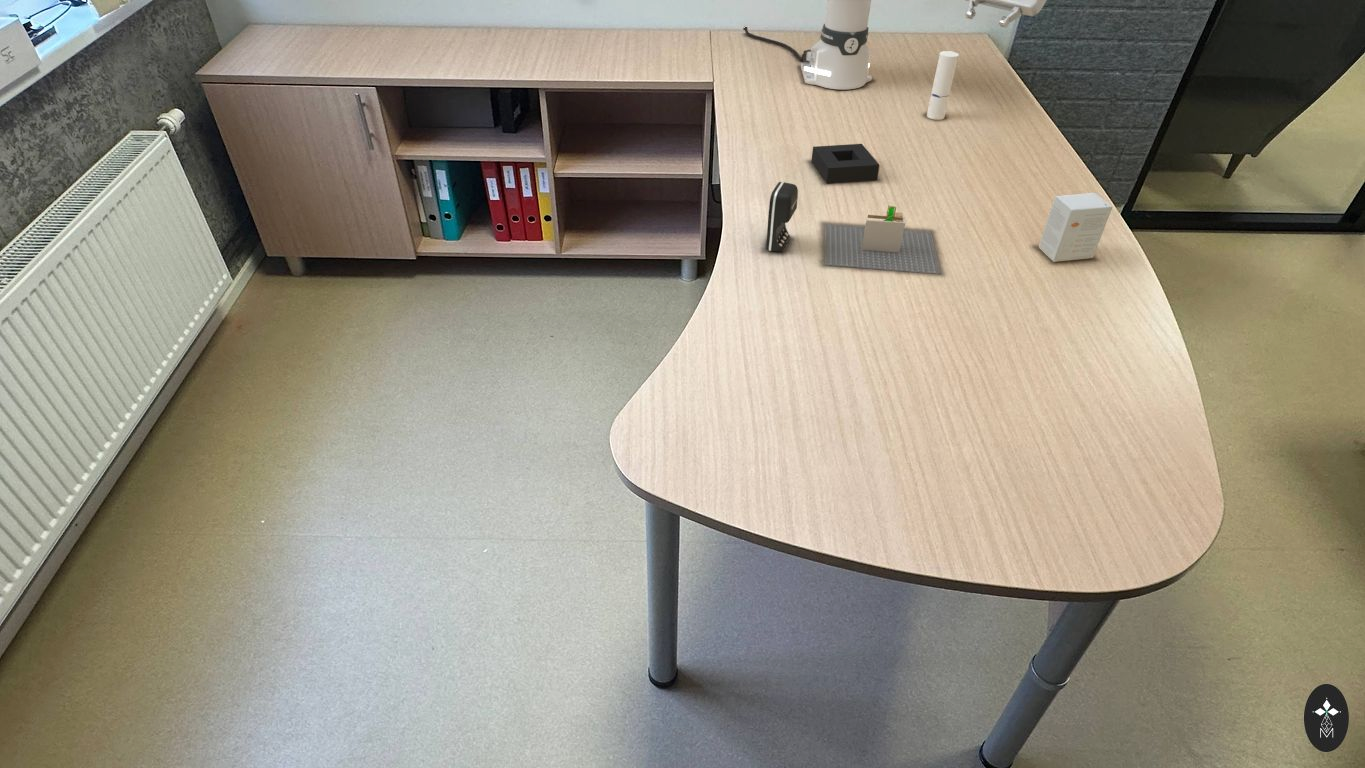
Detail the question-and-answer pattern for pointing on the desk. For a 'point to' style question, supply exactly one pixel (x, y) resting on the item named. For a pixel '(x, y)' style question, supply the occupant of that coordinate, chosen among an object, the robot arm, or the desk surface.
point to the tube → (942, 85)
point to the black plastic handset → (780, 215)
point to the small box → (1074, 226)
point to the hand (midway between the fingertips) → (985, 21)
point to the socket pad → (845, 163)
